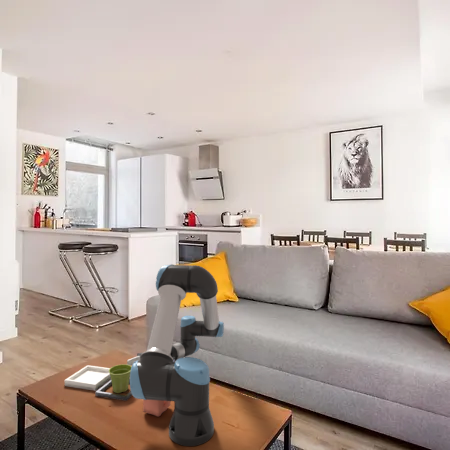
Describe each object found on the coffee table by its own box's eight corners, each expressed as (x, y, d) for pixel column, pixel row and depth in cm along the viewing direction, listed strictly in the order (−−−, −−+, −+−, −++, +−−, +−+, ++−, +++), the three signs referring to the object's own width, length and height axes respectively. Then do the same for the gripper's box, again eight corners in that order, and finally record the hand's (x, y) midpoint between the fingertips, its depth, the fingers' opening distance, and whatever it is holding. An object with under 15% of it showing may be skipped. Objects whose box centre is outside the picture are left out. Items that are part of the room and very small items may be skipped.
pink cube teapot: (148, 401, 128) (149, 380, 128) (175, 409, 123) (175, 387, 123) (136, 412, 121) (136, 390, 121) (163, 420, 116) (163, 397, 116)
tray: (95, 390, 136) (95, 384, 136) (64, 385, 140) (64, 379, 140) (115, 374, 150) (115, 369, 150) (87, 370, 154) (87, 365, 154)
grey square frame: (126, 400, 128) (126, 397, 128) (95, 395, 132) (95, 392, 132) (143, 383, 142) (143, 380, 142) (115, 379, 145) (115, 376, 145)
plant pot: (125, 396, 131) (125, 375, 131) (103, 394, 133) (104, 372, 133) (136, 385, 141) (136, 365, 141) (116, 383, 142) (116, 363, 142)
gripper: (191, 368, 152) (154, 385, 136) (156, 354, 168) (120, 367, 151) (191, 352, 152) (155, 367, 136) (156, 339, 168) (120, 351, 151)
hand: (136, 367), depth 143 cm, fingers open, 13 cm apart
